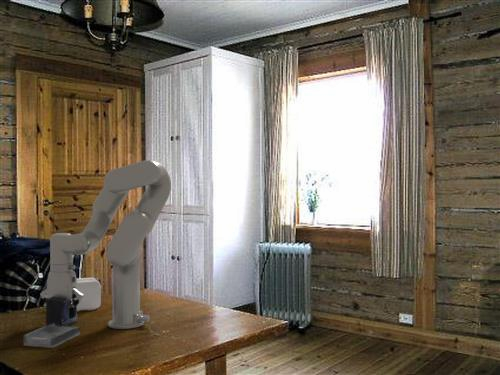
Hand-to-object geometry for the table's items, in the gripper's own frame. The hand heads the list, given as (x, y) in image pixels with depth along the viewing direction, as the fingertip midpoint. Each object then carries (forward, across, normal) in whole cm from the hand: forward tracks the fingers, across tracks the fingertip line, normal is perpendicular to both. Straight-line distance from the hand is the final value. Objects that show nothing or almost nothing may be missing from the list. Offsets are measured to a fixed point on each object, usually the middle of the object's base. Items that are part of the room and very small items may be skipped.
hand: (61, 316), depth 180 cm
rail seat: (+3, -7, +16) cm, 17 cm away
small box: (+3, 0, 0) cm, 3 cm away
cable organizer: (+3, +8, -24) cm, 25 cm away
